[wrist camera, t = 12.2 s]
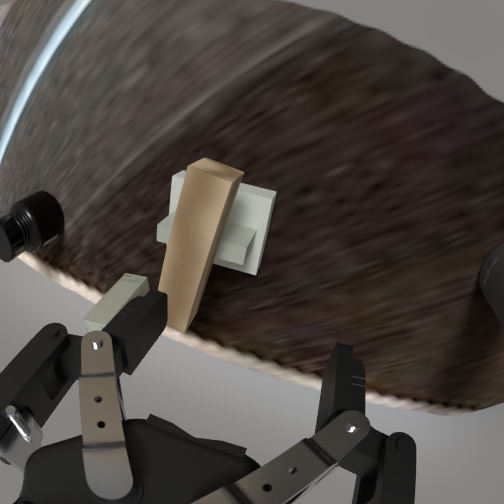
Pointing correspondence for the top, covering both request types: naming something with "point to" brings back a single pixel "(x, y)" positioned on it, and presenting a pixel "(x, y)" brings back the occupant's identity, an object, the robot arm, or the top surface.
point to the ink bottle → (30, 225)
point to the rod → (196, 236)
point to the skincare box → (115, 300)
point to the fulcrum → (233, 226)
